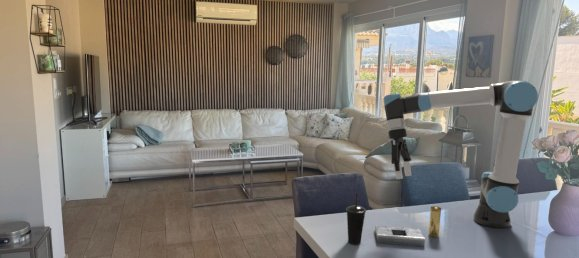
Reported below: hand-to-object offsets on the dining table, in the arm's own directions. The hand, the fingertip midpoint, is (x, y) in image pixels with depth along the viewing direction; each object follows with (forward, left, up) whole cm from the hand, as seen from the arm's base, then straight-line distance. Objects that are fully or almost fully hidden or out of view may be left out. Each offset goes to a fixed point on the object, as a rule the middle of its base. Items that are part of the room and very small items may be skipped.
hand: (404, 177), depth 180 cm
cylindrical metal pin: (-12, +10, -21) cm, 27 cm away
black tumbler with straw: (+21, +23, -22) cm, 38 cm away
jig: (+3, +16, -21) cm, 27 cm away
